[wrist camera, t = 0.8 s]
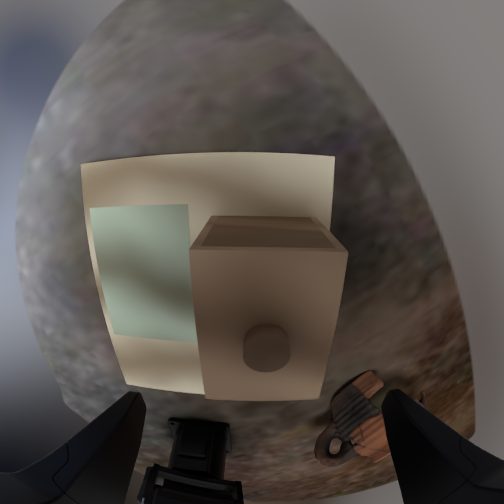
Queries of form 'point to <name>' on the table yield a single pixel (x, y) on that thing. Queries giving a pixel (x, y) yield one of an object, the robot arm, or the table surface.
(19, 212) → the table surface
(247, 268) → the walnut cover
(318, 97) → the table surface
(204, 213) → the serving board
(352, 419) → the pottery mug
